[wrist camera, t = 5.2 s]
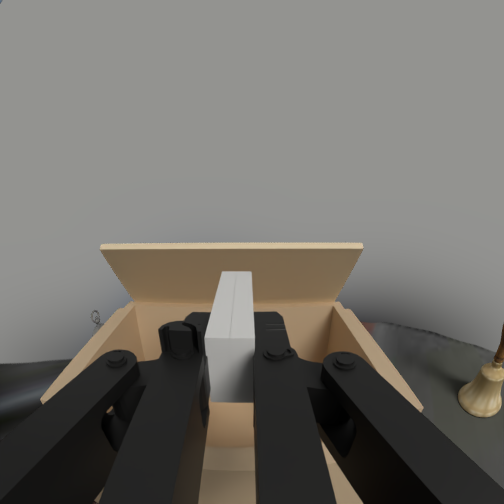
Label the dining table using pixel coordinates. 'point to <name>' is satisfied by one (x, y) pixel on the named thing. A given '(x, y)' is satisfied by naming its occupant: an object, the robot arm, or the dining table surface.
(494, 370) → the hand bell
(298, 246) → the carton flap
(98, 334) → the carton
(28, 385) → the dining table surface
